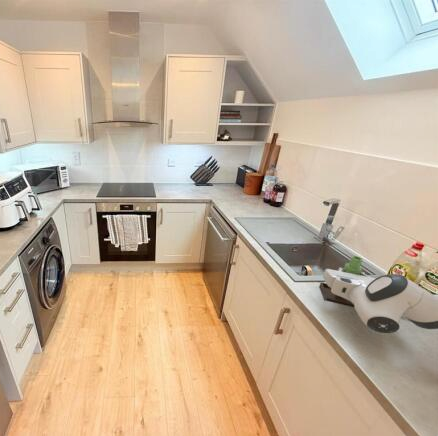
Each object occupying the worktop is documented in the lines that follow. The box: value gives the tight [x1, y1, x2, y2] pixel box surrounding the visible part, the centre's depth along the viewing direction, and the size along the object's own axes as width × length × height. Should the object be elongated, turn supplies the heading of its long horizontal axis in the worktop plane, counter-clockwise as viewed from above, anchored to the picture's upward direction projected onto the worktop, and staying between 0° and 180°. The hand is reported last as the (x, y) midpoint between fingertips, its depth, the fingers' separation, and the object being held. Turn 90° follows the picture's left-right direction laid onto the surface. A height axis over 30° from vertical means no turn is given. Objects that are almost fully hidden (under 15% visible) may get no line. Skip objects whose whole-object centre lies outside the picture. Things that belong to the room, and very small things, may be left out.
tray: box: [318, 282, 355, 309], centre depth 99 cm, size 13×11×2 cm
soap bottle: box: [343, 255, 364, 275], centre depth 95 cm, size 5×5×17 cm
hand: (350, 271), depth 95 cm, fingers closed on soap bottle, 5 cm apart
